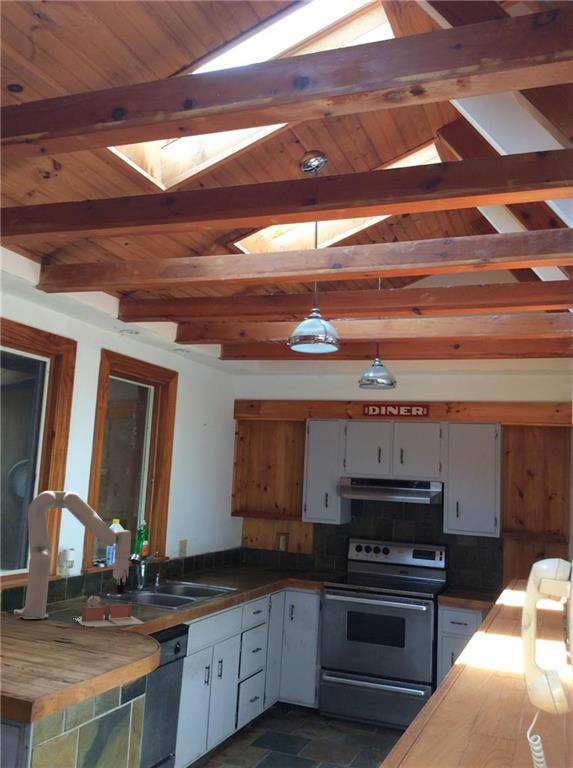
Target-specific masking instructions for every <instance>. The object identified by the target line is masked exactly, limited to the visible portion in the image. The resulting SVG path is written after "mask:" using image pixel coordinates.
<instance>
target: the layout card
mask: <svg viewBox="0 0 573 768" xmlns="http://www.w3.org/2000/svg"><path fill="white" fill-rule="evenodd" d="M78 617H79V618H80V619H79V618H77V619H76V618H75V620H76V621H75V620H74V618H73V619H72V620H74V621H75V622H77V621H78V622H79V623H78V622H77V623H78V624H80V625H81V626H83V625H85V626H95V628H106V627H107V628H108V627H118V626H122V627H123V626H133V625H145V624H146V622H144V621H142V620H140V619H138V618H136V617H134V616H132V615H131V617H125V618H110V614H109V619H108V620H105V614H104V618H103V620H91V621H81V620H82V616H78Z"/></svg>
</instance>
